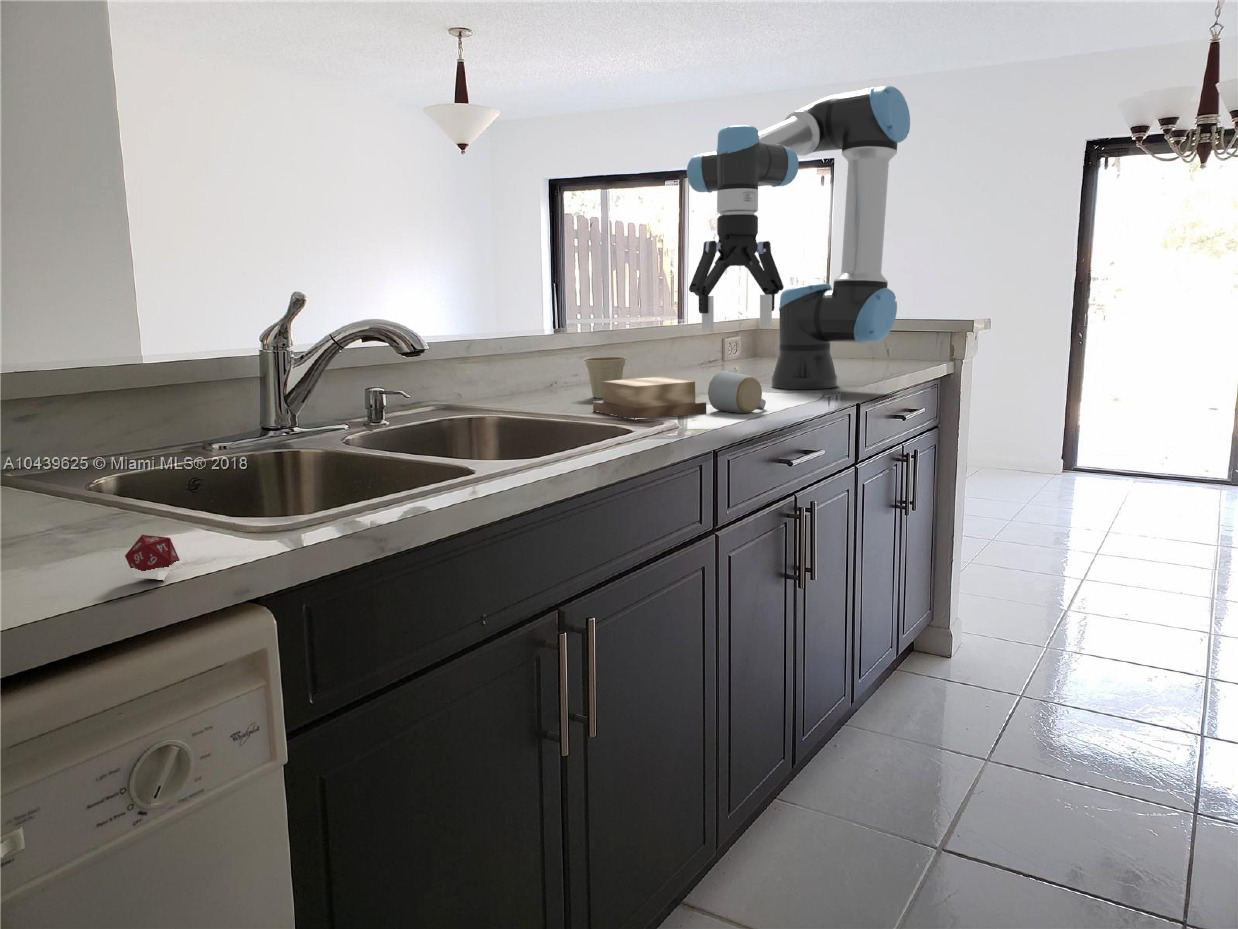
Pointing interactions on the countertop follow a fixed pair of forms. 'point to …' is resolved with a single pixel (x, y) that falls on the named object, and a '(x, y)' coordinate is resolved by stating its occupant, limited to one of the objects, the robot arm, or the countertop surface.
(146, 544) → the dice
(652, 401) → the pedestal block
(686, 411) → the board
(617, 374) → the flower pot
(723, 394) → the ceramic mug
